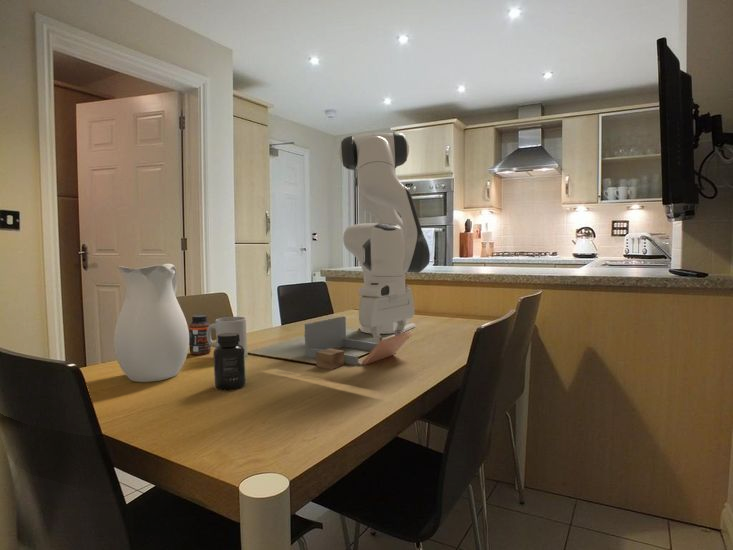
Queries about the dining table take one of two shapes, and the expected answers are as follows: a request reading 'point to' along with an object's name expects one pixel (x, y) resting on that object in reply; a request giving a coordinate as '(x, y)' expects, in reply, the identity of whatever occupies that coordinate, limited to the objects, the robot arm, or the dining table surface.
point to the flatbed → (332, 339)
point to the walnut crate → (330, 358)
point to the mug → (229, 330)
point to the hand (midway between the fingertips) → (388, 339)
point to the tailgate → (386, 348)
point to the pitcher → (151, 325)
